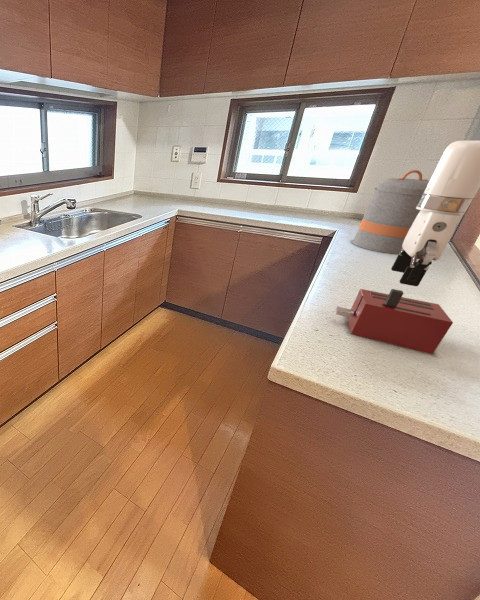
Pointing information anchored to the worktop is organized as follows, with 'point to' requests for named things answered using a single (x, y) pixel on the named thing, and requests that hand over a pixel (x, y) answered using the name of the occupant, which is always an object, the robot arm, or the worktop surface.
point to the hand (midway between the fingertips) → (403, 277)
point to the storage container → (390, 214)
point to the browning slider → (393, 298)
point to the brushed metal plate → (344, 312)
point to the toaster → (399, 321)
